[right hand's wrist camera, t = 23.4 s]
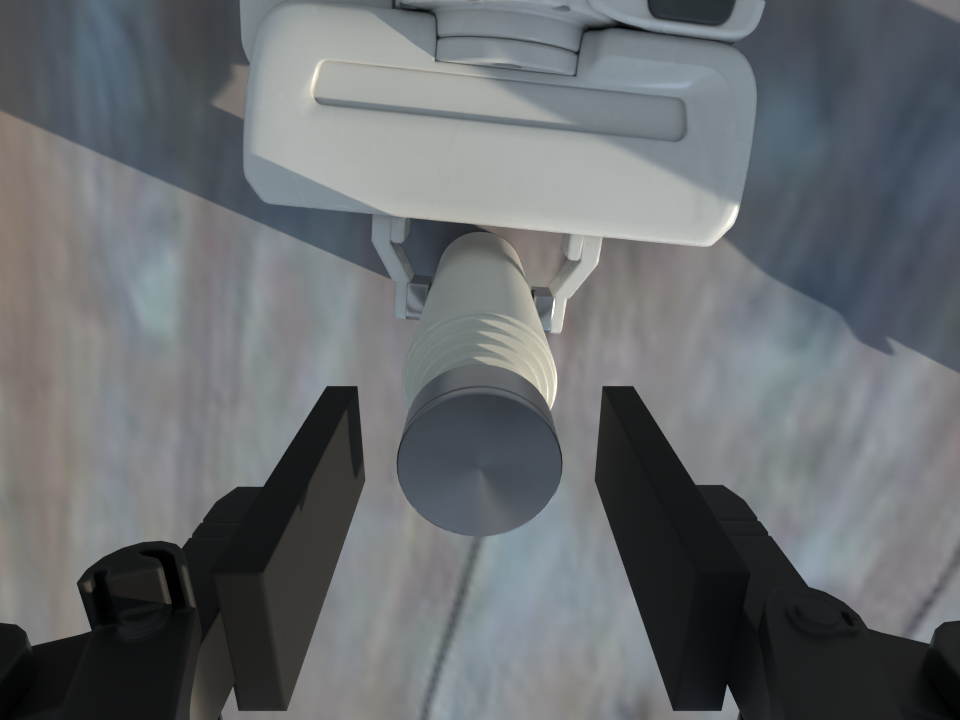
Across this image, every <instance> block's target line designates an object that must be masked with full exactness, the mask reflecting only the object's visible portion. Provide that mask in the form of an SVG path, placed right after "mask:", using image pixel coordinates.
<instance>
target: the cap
mask: <svg viewBox="0 0 960 720" xmlns="http://www.w3.org/2000/svg"><path fill="white" fill-rule="evenodd" d="M397 474H398V478H399V482H400V485H401V488H402V490H403V492H404V494H405V496H406V498H407V500H408V501H409V502H410V504H411V505H412V506H413V507H414V509H415V510H416V511H417V512H418V513H419V514H420V515H422V516H423V517H424V518H425V519H426V520H428V521H430V522H431V523H433V524H434V525H436V526H438V527H440V528H442V529H445V530H447V531H450V532H453V533H457V534H462V535H469V536H491V535H497V534H502V533H506V532H509V531H512V530H515V529H517V528H519V527H521V526H523V525H525V524H526V523H528V522H530V521H531V520H533V519H534V518H535V517H536V516H538V515H539V514H540V513H541V512H542V511H543V510H544V509H545V508H546V506H547V505H548V504H549V502H550V501H551V500H552V498H553V496H554V494H555V493H556V491H557V488H558V486H559V483H560V479H561V474H562V453H561V449H560V445H559V441H558V437H557V434H556V430H555V426H554V422H553V418H552V415H551V411H550V409H549V406H548V404H547V402H546V400H545V399H544V397H543V395H542V394H541V393H540V392H539V390H538V389H537V388H536V387H535V386H534V385H533V384H532V383H531V382H529V381H528V380H527V379H525V378H524V377H523V376H521V375H519V374H517V373H515V372H513V371H511V370H508V369H506V368H502V367H498V366H494V365H486V364H474V365H465V366H461V367H457V368H454V369H451V370H448V371H446V372H444V373H442V374H440V375H438V376H437V377H435V378H434V379H432V380H431V381H430V382H429V383H427V384H426V385H425V386H424V387H423V388H422V389H421V391H420V392H419V393H418V394H417V396H416V397H415V399H414V401H413V402H412V404H411V407H410V409H409V412H408V416H407V419H406V423H405V427H404V431H403V434H402V438H401V442H400V446H399V450H398V454H397Z"/></svg>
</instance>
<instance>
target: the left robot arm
mask: <svg viewBox="0 0 960 720" xmlns="http://www.w3.org/2000/svg"><path fill="white" fill-rule="evenodd" d="M765 2H766V1H765V0H240V22H241V40H242V45H243V50H244V54H245V56H246V59H247V61H248V62H249V64H250V65H249V71H248V80H247V88H246V99H245V110H244V130H243V170H244V175H245V178H246V180H247V181H248V183H249V184H250V185H251V187H252V188H253V190H254V191H255V192H256V194H257V195H258V196H259V197H260V199H261V200H262V201H264V202H265V203H268V204H276V205H285V206H296V207H306V208H316V209H326V210H336V211H346V212H356V213H366V214H372V243H373V245H374V247H375V248H376V250H377V252H378V254H379V256H380V258H381V260H382V262H383V263H384V265H385V267H386V269H387V271H388V273H389V275H390V277H391V279H392V280H393V281H394V282H396V291H395V318H398V319H405V320H406V319H410V320H420V317H421V315H422V312H423V309H424V306H425V303H426V300H427V297H428V294H429V291H430V288H431V281H432V277H429V276H421V275H415V273H414V271H413V269H412V267H411V265H410V263H409V261H408V259H407V257H406V255H405V252H404V250H403V248H402V246H401V244H400V243H402V242H403V241H404V240H405V239H406V238H407V237H408V235H409V234H410V220H411V218H417V219H427V220H437V221H447V222H457V223H467V224H477V225H487V226H497V227H507V228H517V229H528V230H538V231H548V232H558V233H563V236H562V244H561V250H562V251H563V252H564V254H565V255H566V256H567V258H568V260H567V262H566V263H565V264H564V266H563V267H562V268H561V270H560V271H559V273H558V274H557V275H556V277H555V278H554V279H553V281H552V282H551V283H550V285H549V286H548V287H549V288H547V287H534V286H531V291H530V292H531V295H532V298H533V301H534V304H535V307H536V310H537V313H538V316H539V319H540V322H541V325H542V328H543V331H544V332H547V333H558V334H560V333H561V330H562V326H563V319H564V313H565V306H566V300H567V298H570V297H571V296H572V295H573V293H574V292H575V291H576V290H577V289H578V287H579V286H580V285H581V284H582V283H583V281H584V280H585V279H586V278H587V276H588V275H589V274H590V273H591V272H592V270H593V269H594V268H595V267H596V266H597V264H598V261H599V256H600V250H601V245H602V239H603V237H608V238H618V239H628V240H639V241H649V242H659V243H669V244H679V245H689V246H700V247H709V246H711V245H712V244H714V243H715V242H716V241H717V240H719V239H720V238H721V237H722V236H723V235H724V234H725V233H726V232H727V231H728V230H729V229H730V228H731V227H732V226H733V224H734V222H735V220H736V218H737V215H738V211H739V208H740V204H741V200H742V196H743V192H744V187H745V182H746V178H747V172H748V167H749V161H750V155H751V149H752V143H753V135H754V127H755V118H756V109H757V88H756V81H755V76H754V73H753V70H752V68H751V66H750V64H749V62H748V60H747V59H746V58H745V57H744V55H743V54H742V53H741V52H740V51H738V50H737V49H735V48H734V47H732V46H730V45H732V44H734V43H736V42H738V41H739V40H741V39H742V38H744V37H746V36H747V35H749V34H750V33H751V32H753V31H754V29H755V28H756V27H757V25H758V23H759V21H760V19H761V16H762V13H763V10H764V6H765ZM395 7H396V9H395Z"/></svg>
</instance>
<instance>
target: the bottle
mask: <svg viewBox="0 0 960 720" xmlns="http://www.w3.org/2000/svg"><path fill="white" fill-rule="evenodd" d="M474 364H486V365H494V366H498V367H502V368H506V369H508V370H511V371H513V372H515V373H517V374H519V375H521V376H523V377H524V378H525V379H527V380H528V381H529V382H531V383H532V384H533V385H534V386H535V387H536V388H537V389H538V390H539V392H540V393H541V394H542V395H543V397H544V399H545V400H546V402H547V404H548V406H549V409H550V410H551V408H552V406H553V403H554V399H555V396H556V390H557V373H556V367H555V364H554V360H553V357H552V354H551V351H550V348H549V345H548V342H547V339H546V336H545V333H544V331H543V328H542V325H541V322H540V319H539V316H538V313H537V310H536V307H535V304H534V301H533V298H532V295H531V292H530V289H529V286H528V283H527V281H526V278H525V275H524V272H523V269H522V266H521V263H520V260H519V258H518V255H517V253H516V252H515V250H514V249H513V247H512V246H511V245H510V244H509V243H508V242H507V241H505V240H504V239H503V238H501V237H499V236H497V235H495V234H492V233H487V232H472V233H468V234H465V235H463V236H460V237H459V238H457V239H455V240H454V241H453V242H452V243H451V244H450V245H449V246H448V247H447V248H446V250H445V251H444V252H443V254H442V256H441V259H440V262H439V265H438V268H437V271H436V274H435V277H434V279H433V282H432V285H431V288H430V291H429V294H428V297H427V300H426V303H425V306H424V309H423V312H422V315H421V317H420V320H419V323H418V326H417V329H416V332H415V335H414V338H413V341H412V344H411V347H410V350H409V352H408V355H407V358H406V361H405V364H404V369H403V376H402V386H403V394H404V398H405V402H406V405H407V407H408V410H409V409H410V407H411V404H412V402H413V401H414V399H415V397H416V396H417V394H418V393H419V392H420V391H421V389H422V388H423V387H424V386H425V385H426V384H427V383H429V382H430V381H431V380H432V379H434V378H435V377H437V376H438V375H440V374H442V373H444V372H446V371H448V370H451V369H454V368H457V367H461V366H465V365H474Z"/></svg>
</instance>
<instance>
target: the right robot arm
mask: <svg viewBox="0 0 960 720" xmlns="http://www.w3.org/2000/svg"><path fill="white" fill-rule="evenodd" d="M364 483H365V472H364V460H363V448H362V436H361V424H360V412H359V400H358V388H357V386H327V387H326V388H325V390H324V392H323V393H322V395H321V396H320V398H319V400H318V401H317V403H316V404H315V406H314V407H313V409H312V411H311V412H310V414H309V415H308V417H307V419H306V420H305V422H304V423H303V425H302V426H301V428H300V430H299V431H298V433H297V434H296V436H295V438H294V439H293V441H292V442H291V444H290V445H289V447H288V449H287V450H286V452H285V453H284V455H283V457H282V458H281V460H280V461H279V463H278V464H277V466H276V468H275V469H274V471H273V472H272V474H271V476H270V477H269V479H268V480H267V482H266V483H265V485H264V487H237V488H235V489H234V490H232V491H231V492H230V493H228V494H227V495H225V496H224V497H222V498H221V499H220V500H218V501H217V502H216V503H215V504H214V506H213V507H212V508H211V510H210V511H209V512H208V514H207V515H206V516H205V518H204V519H203V523H200V525H199V526H198V527H197V529H196V530H195V531H194V533H193V534H192V538H189V539H188V541H187V542H186V544H185V545H184V546H183V548H182V549H181V548H180V547H179V546H178V545H176V544H173V543H169V542H164V541H153V542H142V543H138V544H135V545H131V546H128V547H124V548H121V549H119V550H117V551H115V552H113V553H111V554H109V555H107V556H105V557H103V558H102V559H100V560H99V561H98V562H96V563H95V564H94V565H92V566H91V567H90V568H88V569H87V570H86V571H85V573H84V574H83V575H82V577H81V578H80V579H79V581H78V582H77V585H78V589H79V592H80V595H81V598H82V601H83V604H84V607H85V611H86V614H87V617H88V620H89V623H90V626H91V629H92V631H90V632H87V633H84V634H81V635H77V636H73V637H68V638H64V639H60V640H56V641H52V642H47V643H43V644H39V645H35V646H31V645H30V642H29V639H28V637H27V634H26V632H25V631H24V630H23V629H21V628H20V627H19V626H18V625H14V624H5V623H0V720H223V719H222V715H221V711H222V709H223V707H224V705H225V703H226V700H227V698H228V696H229V694H230V692H231V689H232V687H234V691H235V696H236V701H237V705H238V710H239V711H287V708H288V705H289V702H290V699H291V697H292V694H293V691H294V688H295V685H296V682H297V679H298V676H299V673H300V670H301V667H302V664H303V661H304V658H305V656H306V653H307V650H308V647H309V644H310V641H311V638H312V635H313V632H314V629H315V626H316V623H317V620H318V617H319V614H320V612H321V609H322V606H323V603H324V600H325V597H326V594H327V591H328V588H329V585H330V582H331V579H332V576H333V573H334V570H335V568H336V565H337V562H338V559H339V556H340V553H341V550H342V547H343V544H344V541H345V538H346V535H347V532H348V529H349V527H350V524H351V521H352V518H353V515H354V512H355V509H356V506H357V503H358V500H359V497H360V494H361V491H362V488H363V485H364ZM595 483H596V485H597V488H598V491H599V494H600V497H601V500H602V503H603V506H604V509H605V512H606V515H607V518H608V521H609V524H610V527H611V529H612V532H613V535H614V538H615V541H616V544H617V547H618V550H619V553H620V556H621V559H622V562H623V565H624V568H625V570H626V573H627V576H628V579H629V582H630V585H631V588H632V591H633V594H634V597H635V600H636V603H637V606H638V609H639V612H640V614H641V617H642V620H643V623H644V626H645V629H646V632H647V635H648V638H649V641H650V644H651V647H652V650H653V653H654V656H655V658H656V661H657V664H658V667H659V670H660V673H661V676H662V679H663V682H664V685H665V688H666V691H667V694H668V697H669V699H670V702H671V705H672V708H673V711H721V710H722V705H723V701H724V696H725V691H726V687H727V684H728V687H729V689H730V691H731V693H732V695H733V697H734V700H735V702H736V704H737V706H738V708H739V715H738V719H737V720H960V621H952V622H944V623H943V624H942V625H940V626H939V627H938V628H937V629H935V631H934V634H933V637H932V639H931V642H930V644H927V643H923V642H919V641H915V640H910V639H906V638H902V637H898V636H893V635H889V634H885V633H881V632H878V631H874V630H871V629H868V628H867V627H866V625H865V624H864V622H863V620H862V619H861V617H860V616H859V615H858V614H857V613H856V612H855V611H853V610H852V609H851V608H850V607H849V606H848V605H846V604H845V603H844V602H842V601H841V600H839V599H837V598H835V597H833V596H831V595H830V594H828V593H826V592H823V591H820V590H817V589H814V588H810V587H808V585H807V584H806V583H805V581H804V580H803V579H802V577H801V576H800V575H799V573H798V572H797V571H796V569H795V568H794V567H793V565H792V564H791V563H790V561H789V560H788V558H787V557H786V556H785V554H784V553H783V552H782V550H781V549H780V548H779V546H778V545H777V544H776V542H775V541H774V540H773V538H772V537H771V536H768V532H767V530H766V529H765V527H764V526H763V525H762V523H761V522H760V521H757V517H756V515H755V514H754V513H753V511H752V510H751V509H750V507H749V506H748V505H747V503H746V502H745V501H744V500H743V499H742V498H740V497H739V496H738V495H736V494H735V493H733V492H732V491H731V490H729V489H728V488H726V487H725V486H723V485H695V483H694V482H693V480H692V479H691V477H690V476H689V474H688V472H687V471H686V469H685V468H684V466H683V464H682V463H681V461H680V460H679V458H678V457H677V455H676V453H675V452H674V450H673V449H672V447H671V445H670V444H669V442H668V441H667V439H666V438H665V436H664V434H663V433H662V431H661V430H660V428H659V426H658V425H657V423H656V422H655V420H654V419H653V417H652V415H651V414H650V412H649V411H648V409H647V407H646V406H645V404H644V403H643V401H642V400H641V398H640V396H639V395H638V393H637V392H636V390H635V388H634V387H633V386H603V388H602V400H601V412H600V424H599V436H598V448H597V460H596V472H595Z"/></svg>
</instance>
